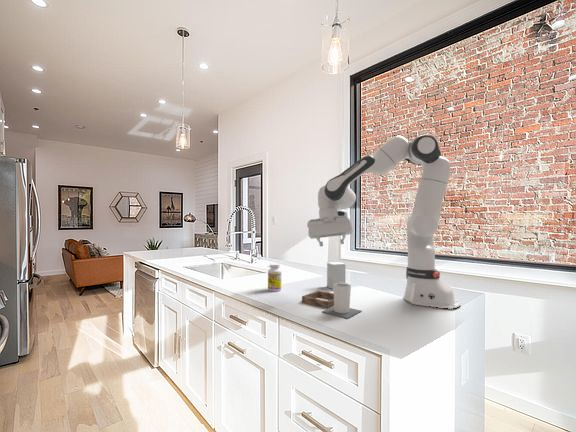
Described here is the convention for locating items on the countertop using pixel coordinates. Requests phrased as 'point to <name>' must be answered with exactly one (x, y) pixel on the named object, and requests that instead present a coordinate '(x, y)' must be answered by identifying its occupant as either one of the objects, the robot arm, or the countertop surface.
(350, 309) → the charcoal mat
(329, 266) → the supplement box
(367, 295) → the countertop surface
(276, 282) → the supplement bottle
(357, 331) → the countertop surface
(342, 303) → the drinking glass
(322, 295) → the walnut tray
